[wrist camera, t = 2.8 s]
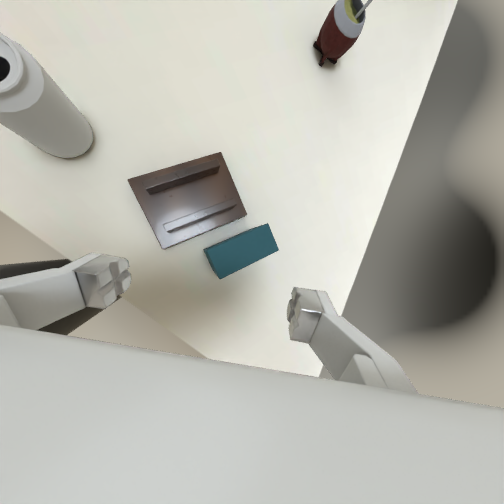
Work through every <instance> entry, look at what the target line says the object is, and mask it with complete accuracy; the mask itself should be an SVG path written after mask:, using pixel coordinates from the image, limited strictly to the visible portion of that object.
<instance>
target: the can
mask: <svg viewBox="0 0 504 504" xmlns="http://www.w3.org/2000/svg"><path fill="white" fill-rule="evenodd" d="M0 123H1V124H2V125H4V126H5V127H7V128H9V129H10V130H12V131H13V132H15V133H16V134H18V135H20V136H21V137H23V138H24V139H26V140H27V141H29V142H30V143H32V144H34V145H35V146H37V147H38V148H40V149H41V150H43V151H45V152H47V153H49V154H51V155H54V156H57V157H63V158H70V157H76V156H79V155H81V154H83V153H85V152H86V151H87V150H88V149H89V148H90V146H91V144H92V142H93V132H92V129H91V126H90V124H89V123H88V121H87V120H86V118H85V117H84V116H83V115H82V114H81V113H80V111H79V110H78V109H77V108H76V107H75V105H74V104H73V103H72V102H71V101H70V100H69V98H68V97H67V96H66V95H65V94H64V92H63V91H62V90H61V89H60V88H59V87H58V85H57V84H56V83H55V82H54V81H53V79H52V78H51V77H50V76H49V75H48V74H47V72H46V71H45V70H44V69H43V68H42V66H41V65H40V64H39V63H38V62H37V61H36V59H35V58H34V57H33V56H32V55H31V54H30V53H29V52H28V51H27V50H26V49H24V48H23V47H22V46H21V45H20V44H18V43H17V42H15V41H13V40H11V39H9V38H8V37H6V36H4V35H3V34H2V33H1V32H0Z"/></svg>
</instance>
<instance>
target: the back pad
mask: <svg viewBox="0 0 504 504" xmlns="http://www.w3.org/2000/svg"><path fill="white" fill-rule="evenodd" d="M278 250H279V249H278V247H277V244H276V242H275V239H274V237H273V234H272V232H271V229H270V227H269V224H268V223H267V224H264V225H261V226H258V227H255V228H252V229H249V230H247V231H245V232H242V233H240V234H238V235H236V236H233V237H231V238H229V239H226V240H224V241H222V242H220V243H217V244H215V245H213V246H210V247H208V248H206V249H204V252H205V254H206V256H207V258H208V260H209V263H210V265H211V267H212V269H213V271H214V272H215V274H216V275H217V276H218V277H219V279H222V278H224V277H226V276H228V275H230V274H232V273H234V272H236V271H238V270H240V269H242V268H244V267H246V266H248V265H250V264H252V263H254V262H256V261H258V260H260V259H262V258H264V257H266V256H268V255H270V254H272V253H274V252H276V251H278Z"/></svg>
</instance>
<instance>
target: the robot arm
mask: <svg viewBox="0 0 504 504" xmlns="http://www.w3.org/2000/svg"><path fill="white" fill-rule="evenodd" d="M128 268H129V262H128V260H127V259H125V258H121V257H116V256H111V255H104V254H100V253H89V254H87V255H85V256H83V257H81V258H79V259H77V260H75V261H73V262H71V263H69V264H67V265H65V266H63V267H61V268H59V269H57V268H53V269H48V270H44V271H39V272H34V273H29V274H24V275H20V276H15V277H10V278H5V279H0V504H504V408H500V407H494V406H488V405H482V404H476V403H470V402H464V401H458V400H452V399H446V398H440V397H434V396H427V395H422V394H419V393H418V392H417V390H416V389H415V387H414V386H413V384H412V383H411V381H410V380H409V378H408V377H407V375H406V374H405V372H404V371H403V369H402V368H401V366H400V365H399V363H398V362H397V360H396V359H394V358H393V357H392V356H391V355H389V354H388V353H387V352H386V351H384V350H383V349H382V348H381V347H379V346H378V345H377V344H375V343H374V342H373V341H372V340H371V339H369V338H368V337H367V336H366V335H364V334H363V333H362V332H361V331H359V330H358V329H357V328H356V327H354V326H353V325H352V324H351V323H349V322H348V321H347V320H346V319H344V318H343V317H342V316H338V314H337V312H336V310H335V308H334V306H333V304H332V302H331V300H330V298H329V296H328V294H327V292H325V291H320V290H311V289H305V288H298V287H294V288H293V290H292V293H291V294H292V299H291V300H290V301H289V303H288V307H287V320H288V321H289V322H290V325H289V334H290V340H293V341H299V342H304V343H309V345H310V347H311V348H312V349H313V351H314V352H315V354H316V355H317V356H318V358H319V359H320V360H321V362H322V363H323V364H324V366H325V367H326V369H327V370H328V371H329V373H330V374H331V375H332V377H333V378H334V379H335V380H332V379H325V378H320V377H314V376H308V375H302V374H296V373H290V372H284V371H278V370H272V369H266V368H260V367H254V366H248V365H241V364H235V363H229V362H223V361H217V360H211V359H205V358H199V357H193V356H187V355H181V354H175V353H169V352H163V351H157V350H151V349H145V348H139V347H133V346H127V345H121V344H115V343H109V342H103V341H96V340H90V339H85V338H79V337H72V336H67V335H61V334H55V333H49V332H43V331H36V330H38V329H40V328H42V327H44V326H46V325H49V324H51V323H53V322H55V321H57V320H59V319H62V318H64V317H66V316H68V315H70V314H72V313H74V312H77V311H79V310H81V309H83V308H85V307H86V306H87V307H94V308H101V309H106V308H107V307H108V306H109V305H110V304H112V303H113V302H114V301H115V300H116V299H117V295H119V294H122V293H124V292H125V291H126V290H127V289H128V287H129V286H130V284H131V274H130V273H129V272H128V270H127V269H128Z"/></svg>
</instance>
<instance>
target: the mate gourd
mask: <svg viewBox="0 0 504 504" xmlns="http://www.w3.org/2000/svg"><path fill="white" fill-rule="evenodd" d="M371 2H372V0H368V1H367V3H366V4H365V5H363V3H362V1H361V0H338V1H337V3H336V4H335V5H334V6H333V7H332V9H331V10H330V12H329V14H328V16H327V18H326V20H325V22H324V24H323V26H322V28H321V30H320V33H319V36H318V39H317V42H316V41H315V42H314V45H313V46H314V47H315V48H316V49H317V50H318V51H319V52H320V53H321V54H322V57H321V60H320V62H319V65H320V66H321V67H322V65H323V63H324V61H325V59H326V58H327V59H328V60H329V61H330V62H332V63H333V64H334V65H335V64H336V63H337V59H339V58H340V57H341V56H342V55H343V54H345V53H346V52H347V50H349V49H350V48H351V47H352V46H353V44H354V43H355V42H356V40H357V38H358V36H359V35H360V33H361V31H362V28H363V25H364V22H365V9H366V7H367V6H368V5H369V4H370V3H371Z"/></svg>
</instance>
